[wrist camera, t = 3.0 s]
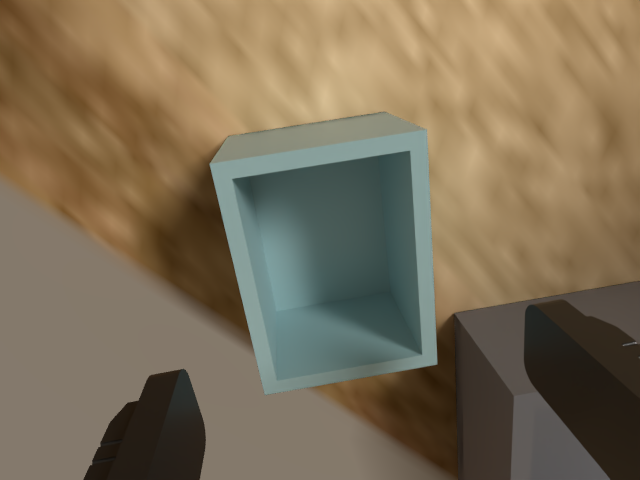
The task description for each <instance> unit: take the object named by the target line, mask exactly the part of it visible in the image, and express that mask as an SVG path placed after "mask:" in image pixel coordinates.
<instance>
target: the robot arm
mask: <svg viewBox="0 0 640 480" xmlns="http://www.w3.org/2000/svg"><path fill="white" fill-rule="evenodd" d="M524 365H525V370H526V373H527V375H528V378H529V380H530V382H531V383H532V385H533V386H534V388H535V389H536V390H537V391H538V392H539V394H540V395H541V396H542V397H543V399H544V400H545V401H546V402H547V403H548V405H549V406H550V407H551V408H552V409H553V411H554V412H555V413H556V414H557V415H558V417H559V418H560V419H561V420H562V422H563V423H564V424H565V425H566V426H567V428H568V429H569V430H570V431H571V432H572V434H573V435H574V436H575V437H576V438H577V440H578V441H579V442H580V443H581V444H582V446H583V447H584V448H585V449H586V451H587V452H588V453H589V454H590V455H591V457H592V458H593V459H594V460H595V461H596V463H597V464H598V465H599V466H600V467H601V469H602V470H603V471H604V472H605V474H606V475H607V476H608V477H609V478H610V480H640V344H637V342H636V340H634V339H633V338H632V337H630V336H629V335H628V334H626V333H625V332H624V331H622V330H621V329H619V328H618V327H617V326H614V325H612V324H610V323H607V322H605V321H603V320H600V319H598V318H595V317H593V316H588V317H586V316H585V315H584V314H583V313H581V312H580V311H579V310H577V309H576V308H575V307H574V306H572V305H571V304H570V303H568V302H567V301H566V300H563V299H559V300H553V301H548V302H543V303H537V304H532V305H529V306H528V307H527V308H526V311H525V329H524ZM205 438H206V437H205V427H204V422H203V418H202V415H201V412H200V409H199V406H198V403H197V400H196V397H195V394H194V390H193V388H192V384H191V382H190V378H189V375H188V373H187V372H186V370H184V369H181V370H176V371H170V372H166V373H160V374H155V375H151V376H149V378H148V379H147V381H146V384H145V386H144V389H143V391H142V394H141V396H140V398H139V401H135V402H130V403H127V404H126V405H125V406H124V408H123V409H122V410H121V411H120V412H119V413H118V414H117V415H116V416H115V417H114V419H113V420H112V421H111V422H110V424H109V426H108V428H107V430H106V432H105V434H104V437H103V439H102V441H101V447H99V448H98V449H97V451H96V454H95V456H94V458H93V460H92V462H93V463H92V465H90V467H89V469H88V471H87V473H86V475H85V477H84V480H199V479H200V474H201V469H202V463H203V458H204V452H205V441H206V439H205Z"/></svg>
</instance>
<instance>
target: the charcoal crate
mask: <svg viewBox="0 0 640 480" xmlns="http://www.w3.org/2000/svg"><path fill="white" fill-rule="evenodd" d="M559 299H563V300H566V301H567V302H568V303H570V304H571V305H572V306H574V307H575V308H576V309H577V310H579V311H580V312H581V313H583V314H584V315H585V316H586V317H588V316H593V317H595V318H598V319H600V320H603V321H605V322H607V323H610V324H612V325H614V326H617V327H618V328H619V329H621V330H622V331H624V332H625V333H626V334H628V335H629V336H630V337H632V338H633V339H634V340H636V342H637V344H640V281H637V282H631V283H625V284H620V285H614V286H608V287H602V288H597V289H591V290H585V291H579V292H574V293H568V294H562V295H556V296H551V297H545V298H539V299H533V300H528V301H522V302H516V303H510V304H505V305H499V306H493V307H487V308H481V309H476V310H470V311H464V312H458V313H454V324H455V364H456V404H457V444H458V480H610V478H609V477H608V476H607V475H606V474H605V472H604V471H603V470H602V469H601V467H600V466H599V465H598V464H597V463H596V461H595V460H594V459H593V458H592V457H591V455H590V454H589V453H588V452H587V451H586V449H585V448H584V447H583V446H582V444H581V443H580V442H579V441H578V440H577V438H576V437H575V436H574V435H573V434H572V432H571V431H570V430H569V429H568V428H567V426H566V425H565V424H564V423H563V422H562V420H561V419H560V418H559V417H558V415H557V414H556V413H555V412H554V411H553V409H552V408H551V407H550V406H549V405H548V403H547V402H546V401H545V400H544V399H543V397H542V396H541V395H540V394H539V392H538V391H537V390H536V389H535V388H534V386H533V385H532V383H531V382H530V380H529V378H528V375H527V373H526V370H525V365H524V329H525V311H526V308H527V307H528V306H529V305H532V304H537V303H543V302H548V301H553V300H559Z"/></svg>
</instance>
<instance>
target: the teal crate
mask: <svg viewBox="0 0 640 480" xmlns="http://www.w3.org/2000/svg"><path fill="white" fill-rule="evenodd" d="M210 168H211V172H212V176H213V180H214V185H215V189H216V193H217V197H218V201H219V206H220V210H221V214H222V218H223V222H224V227H225V231H226V235H227V239H228V243H229V248H230V252H231V256H232V260H233V264H234V269H235V273H236V277H237V281H238V285H239V289H240V294H241V298H242V302H243V306H244V310H245V315H246V319H247V323H248V327H249V331H250V336H251V340H252V344H253V348H254V352H255V357H256V361H257V365H258V369H259V373H260V378H261V382H262V386H263V390H264V394H265V395H269V394H274V393H280V392H286V391H291V390H296V389H303V388H308V387H314V386H319V385H325V384H331V383H336V382H342V381H348V380H353V379H359V378H365V377H370V376H376V375H381V374H387V373H393V372H398V371H404V370H410V369H415V368H421V367H426V366H432V365H437V344H436V322H435V299H434V277H433V254H432V232H431V209H430V187H429V164H428V142H427V129H424V128H422V127H420V126H417V125H415V124H413V123H410V122H408V121H406V120H403V119H401V118H398V117H396V116H394V115H391V114H389V113H387V112H380V113H373V114H367V115H361V116H354V117H348V118H341V119H335V120H329V121H322V122H316V123H309V124H303V125H297V126H290V127H284V128H277V129H271V130H264V131H258V132H252V133H245V134H239V135H232V136H228V137H227V139H226V140H225V142H224V143H223V145H222V146H221V148H220V149H219V151H218V152H217V154H216V155H215V157H214V158H213V160H212V161H211V162H210Z"/></svg>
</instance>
